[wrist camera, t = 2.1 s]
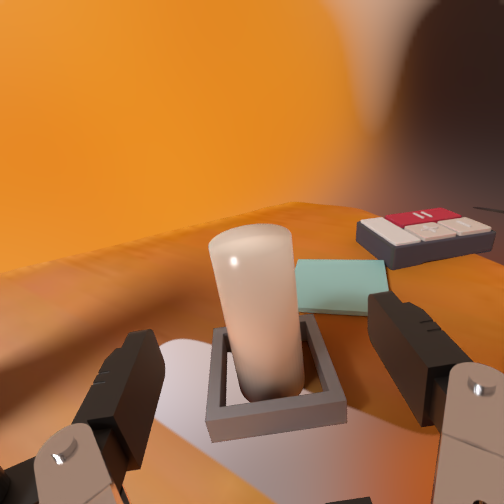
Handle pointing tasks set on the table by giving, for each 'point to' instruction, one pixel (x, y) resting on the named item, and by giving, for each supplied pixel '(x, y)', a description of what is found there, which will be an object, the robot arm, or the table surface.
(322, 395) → the holder
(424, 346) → the robot arm
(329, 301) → the coaster pad
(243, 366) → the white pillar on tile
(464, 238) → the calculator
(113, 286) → the table surface
